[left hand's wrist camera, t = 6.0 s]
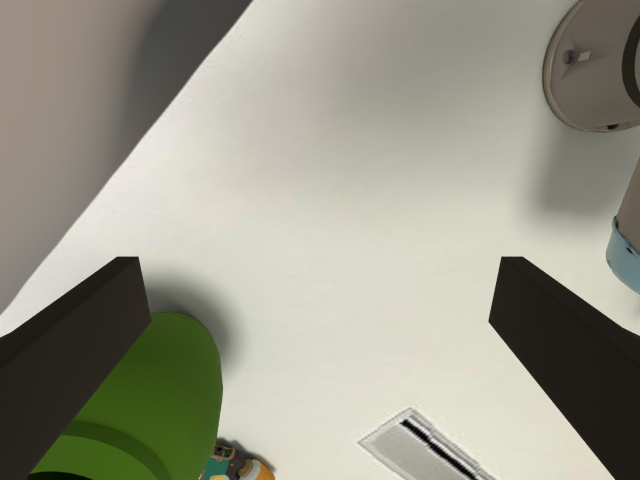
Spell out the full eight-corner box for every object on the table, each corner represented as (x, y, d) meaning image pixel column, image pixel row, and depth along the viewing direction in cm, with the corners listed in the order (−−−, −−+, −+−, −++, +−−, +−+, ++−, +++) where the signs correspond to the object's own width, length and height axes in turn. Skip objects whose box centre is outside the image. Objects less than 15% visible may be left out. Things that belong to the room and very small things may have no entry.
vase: (271, 326, 50) (231, 502, 28) (204, 406, 56) (124, 608, 33) (153, 252, 46) (-9, 388, 23) (92, 346, 52) (-86, 531, 29)
